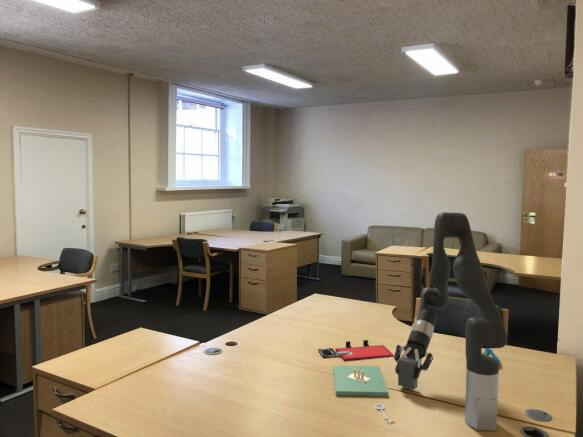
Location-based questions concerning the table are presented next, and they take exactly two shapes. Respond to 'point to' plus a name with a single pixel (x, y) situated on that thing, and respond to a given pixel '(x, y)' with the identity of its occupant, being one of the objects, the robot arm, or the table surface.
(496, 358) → the gear
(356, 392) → the header board
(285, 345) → the table surface
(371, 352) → the red board with handle
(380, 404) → the key
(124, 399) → the table surface
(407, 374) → the block
